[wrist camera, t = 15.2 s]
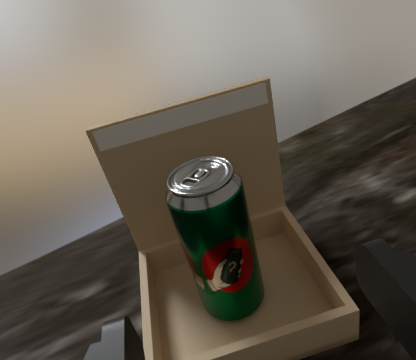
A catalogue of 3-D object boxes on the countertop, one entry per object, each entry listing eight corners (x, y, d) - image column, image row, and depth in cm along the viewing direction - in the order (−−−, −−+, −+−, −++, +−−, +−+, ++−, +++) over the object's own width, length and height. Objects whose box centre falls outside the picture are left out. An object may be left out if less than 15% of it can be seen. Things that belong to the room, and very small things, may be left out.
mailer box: (160, 406, 23) (57, 235, 15) (149, 270, 33) (86, 127, 25) (358, 339, 24) (363, 142, 16) (286, 227, 34) (266, 76, 26)
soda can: (276, 285, 28) (254, 157, 22) (245, 336, 25) (208, 205, 19) (225, 265, 31) (192, 149, 25) (191, 309, 28) (143, 189, 22)
